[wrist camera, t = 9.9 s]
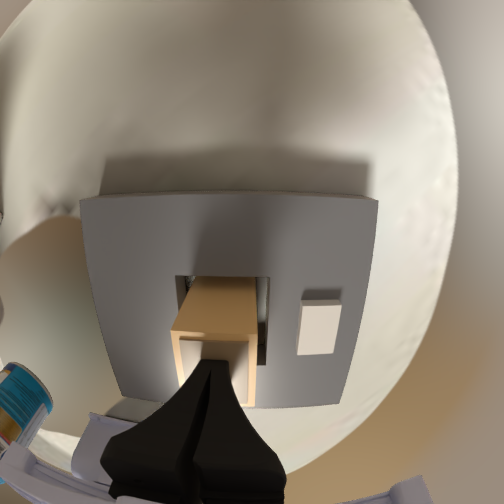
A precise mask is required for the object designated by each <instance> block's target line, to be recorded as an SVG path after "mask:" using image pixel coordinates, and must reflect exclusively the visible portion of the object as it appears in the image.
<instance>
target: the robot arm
mask: <svg viewBox="0 0 504 504" xmlns="http://www.w3.org/2000/svg"><path fill="white" fill-rule="evenodd" d="M89 418H90V419H91V420H90V421H89V423H88V425H87V427H86V429H85V431H84V433H83V435H82V437H81V439H80V441H79V443H78V445H77V447H76V449H75V451H74V453H73V456H72V461H71V471H72V474H73V476H71V475H69V474H67V473H65V472H62V471H60V470H57V469H56V468H54V467H51V466H49V465H47V464H45V463H43V462H41V461H40V460H38V459H37V458H36V457H35V455H34V454H33V453H32V452H31V451H29V450H28V449H27V448H25V447H23V446H22V445H20V444H18V443H16V442H15V441H12V443H11V444H10V446H9V447H8V449H7V451H6V452H5V454H4V455H3V457H2V459H1V460H0V477H1V478H2V479H3V480H4V481H5V482H6V483H7V484H8V485H9V486H11V487H12V488H13V489H14V490H15V491H17V492H18V493H19V494H20V495H22V496H23V497H24V498H26V499H27V500H29V501H31V502H32V503H34V504H284V488H285V485H286V474H285V471H284V468H283V466H282V464H281V462H280V460H279V458H278V456H277V454H276V453H275V452H274V451H273V450H272V449H271V448H270V447H269V446H268V445H267V444H266V443H265V442H264V440H263V439H262V438H261V437H260V436H259V434H258V433H257V432H256V430H255V429H254V427H253V426H252V425H251V423H250V422H249V420H248V418H247V417H246V415H245V413H244V411H243V410H242V408H241V406H240V403H239V401H238V399H237V397H236V394H235V392H234V388H233V385H232V382H231V379H230V374H229V362H228V361H227V360H210V359H201V360H200V361H199V362H198V364H197V365H196V367H195V369H194V370H193V372H192V373H191V374H190V376H189V377H188V378H187V380H186V381H185V382H184V384H183V385H182V386H181V387H180V388H179V390H178V391H177V392H176V393H175V394H174V395H173V396H172V397H171V398H170V399H169V400H168V401H167V402H166V403H165V404H164V405H163V406H162V407H161V408H159V409H158V410H157V411H156V412H154V413H153V414H152V415H151V416H149V417H148V418H146V419H145V420H143V421H142V422H140V423H139V424H138V423H133V422H128V421H124V420H119V419H115V418H111V417H107V416H103V415H98V414H95V413H91V412H90V413H89ZM338 504H434V503H433V501H432V498H431V496H430V494H429V491H428V489H427V487H426V484H425V482H424V480H423V478H422V475H418V476H415V477H412V478H410V479H407V480H404V481H401V482H399V483H397V484H395V485H393V486H392V487H391V488H390V490H389V491H387V492H384V493H380V494H377V495H373V496H369V497H365V498H361V499H357V500H352V501H348V502H343V503H338Z"/></svg>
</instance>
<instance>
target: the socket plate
mask: <svg viewBox="0 0 504 504" xmlns="http://www.w3.org/2000/svg"><path fill="white" fill-rule="evenodd" d="M80 213H81V223H82V233H83V241H84V248H85V255H86V261H87V268H88V274H89V279H90V284H91V289H92V294H93V299H94V303H95V308H96V312H97V316H98V320H99V324H100V328H101V332H102V335H103V339H104V343H105V346H106V349H107V353H108V356H109V359H110V362H111V365H112V368H113V371H114V374H115V377H116V380H117V383H118V386H119V388H120V391H121V394H122V396H126V397H131V398H137V399H143V400H149V401H156V402H163V403H166V402H167V401H168V400H169V399H170V398H171V397H172V396H173V395H174V394H175V393H176V392H177V391H178V390H179V388H180V386H179V381H178V375H177V370H176V364H175V358H174V352H173V345H172V339H171V332H170V330H171V328H172V326H173V323H174V321H175V319H176V317H177V315H178V313H179V310H180V308H181V306H182V304H183V302H184V300H185V298H186V283H185V276H226V277H267V297H266V321H265V343H264V345H257V364H256V388H255V407H248V406H241V408H245V409H266V408H295V407H310V406H322V405H332V404H339V402H340V399H341V396H342V393H343V389H344V386H345V383H346V379H347V376H348V372H349V369H350V365H351V361H352V357H353V353H354V349H355V345H356V341H357V337H358V333H359V328H360V324H361V319H362V314H363V309H364V304H365V299H366V294H367V288H368V282H369V276H370V270H371V263H372V256H373V249H374V241H375V232H376V223H377V213H378V200H375V199H372V198H368V197H365V196H358V195H344V194H328V193H309V192H284V191H171V192H146V193H128V194H112V195H99V196H94V197H90V198H86V199H82V200H80Z"/></svg>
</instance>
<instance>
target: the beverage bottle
mask: <svg viewBox="0 0 504 504" xmlns="http://www.w3.org/2000/svg"><path fill="white" fill-rule="evenodd" d="M52 409H53V400H52V397H51V395H50V393H49V392H48V390H47V388H46V387H45V386H44V385H43V383H42V382H41V381H40V380H39V378H37V376H36V375H34V374H33V373H32V372H31V371H30V370H29V369H28V368H26V367H25V366H23V365H21V364H19V363H16V362H10V363H8V364H7V365H6V366H5V367H4V368H3V370H2V371H1V372H0V460H1V459H2V457H3V455H4V454H5V452H6V451H7V449H8V447H9V446H10V444H11V443H12V441H15V442H16V443H18V444H20V445H22V446H23V447H25V448H27V449H28V447H29V445H30V443H31V442H32V440H33V438H34V437H35V435H36V433H37V432H38V430H39V428H40V427H41V425H42V424H43V422H44V420H45V419H46V417H47V416H48V415H49V414H50V412H51V411H52ZM3 483H5V481H4V480H3V479H2V478H1V477H0V484H3Z"/></svg>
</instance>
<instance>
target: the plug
mask: <svg viewBox="0 0 504 504" xmlns="http://www.w3.org/2000/svg"><path fill="white" fill-rule="evenodd" d="M170 332H171V339H172V345H173V352H174V358H175V364H176V370H177V375H178V381H179V386H180V387H181V386H182V385H183V384H184V382H185V381H186V380H187V378H188V377H189V376H190V374H191V373H192V372H193V370H194V369H195V367H196V365H197V364H198V362H199V361H200V360H201V359H210V360H227V361H228V362H229V374H230V379H231V382H232V385H233V388H234V392H235V394H236V397H237V399H238V401H239V403H240V406H248V407H255V388H256V364H257V339H258V330H257V307H256V283H255V277H226V276H196V277H195V279H194V281H193V283H192V285H191V287H190V289H189V291H188V293H187V296H186V298H185V300H184V302H183V304H182V306H181V308H180V310H179V313H178V315H177V317H176V319H175V321H174V323H173V326H172V328H171V330H170Z"/></svg>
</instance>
